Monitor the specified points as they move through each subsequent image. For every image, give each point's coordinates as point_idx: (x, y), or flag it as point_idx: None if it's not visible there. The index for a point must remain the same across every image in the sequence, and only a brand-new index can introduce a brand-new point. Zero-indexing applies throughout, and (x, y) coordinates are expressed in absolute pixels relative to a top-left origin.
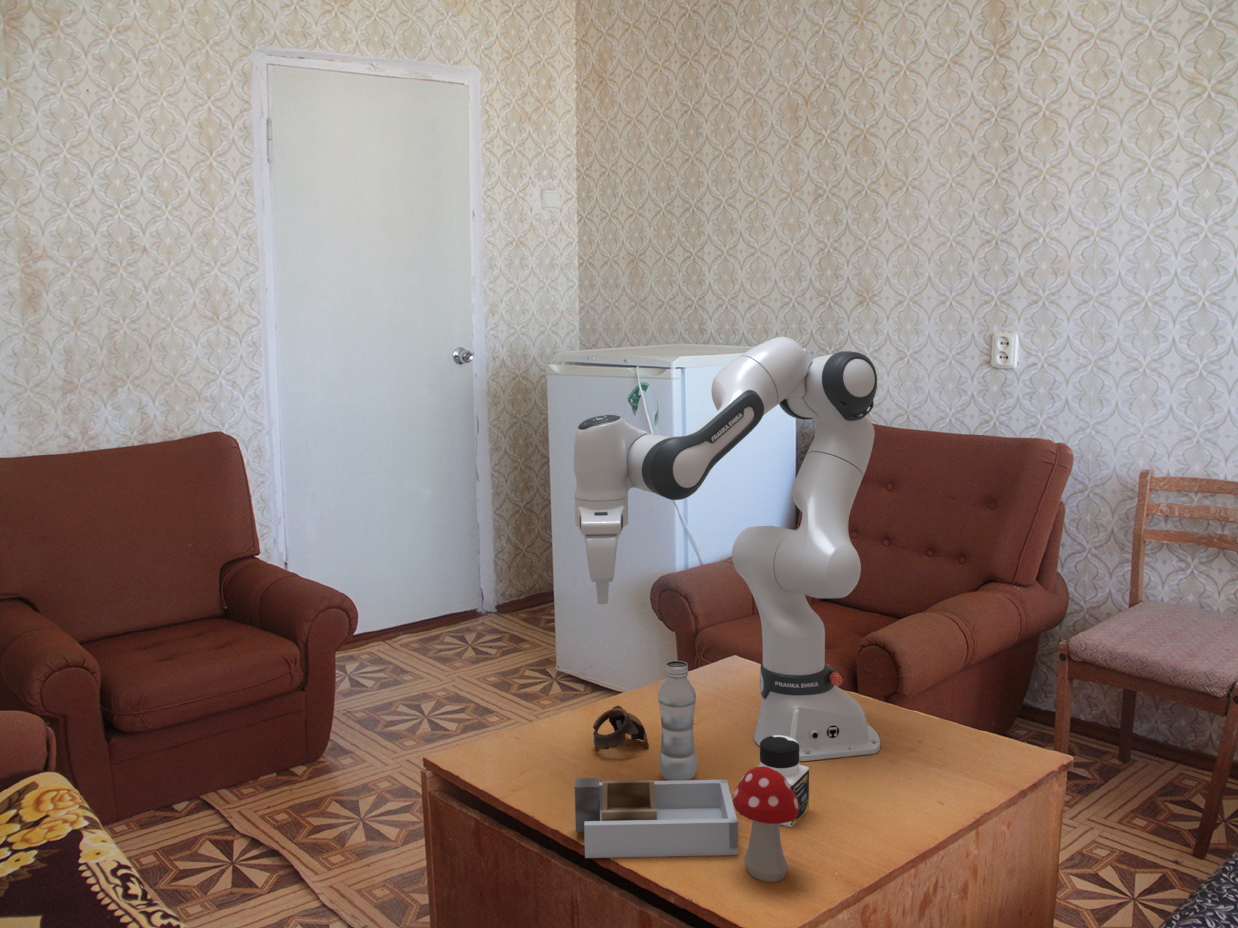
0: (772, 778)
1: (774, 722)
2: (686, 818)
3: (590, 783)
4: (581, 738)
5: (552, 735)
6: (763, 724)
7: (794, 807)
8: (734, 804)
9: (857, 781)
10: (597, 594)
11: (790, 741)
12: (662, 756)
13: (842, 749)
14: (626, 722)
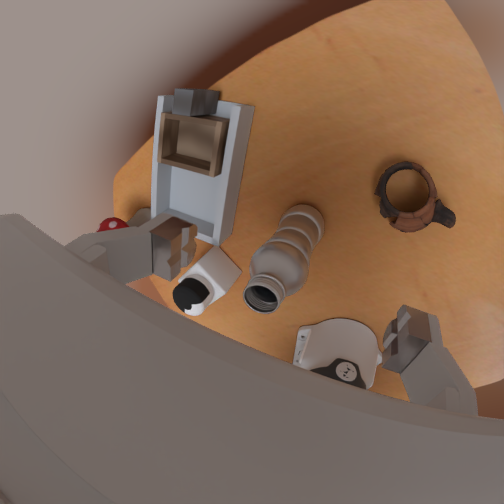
0: None
1: (324, 342)
2: (210, 192)
3: (180, 105)
4: (452, 162)
5: (472, 133)
6: (340, 336)
7: None
8: (113, 218)
9: (255, 336)
10: (140, 226)
11: (182, 308)
12: (295, 212)
13: (297, 357)
14: (386, 206)
